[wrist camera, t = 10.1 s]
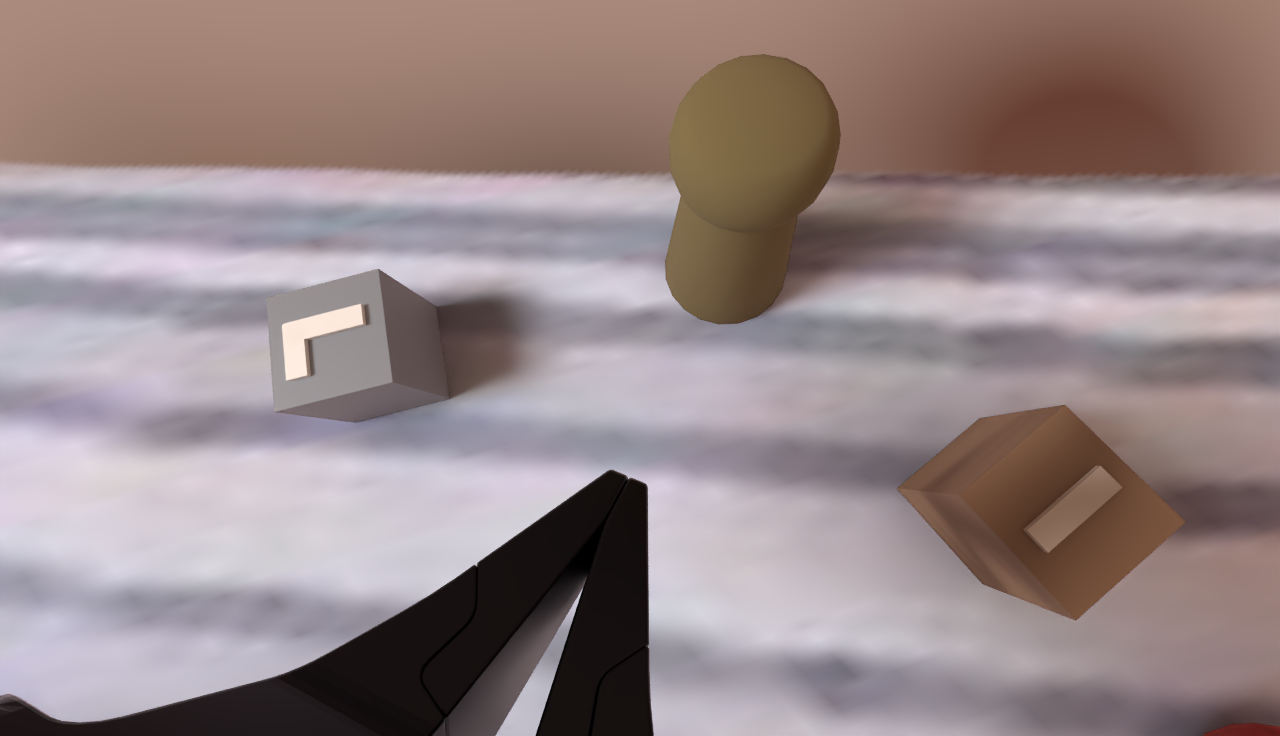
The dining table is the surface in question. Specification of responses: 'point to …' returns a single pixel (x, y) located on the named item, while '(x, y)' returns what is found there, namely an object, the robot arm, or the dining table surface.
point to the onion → (1246, 730)
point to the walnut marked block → (1041, 508)
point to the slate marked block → (355, 349)
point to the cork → (745, 182)
